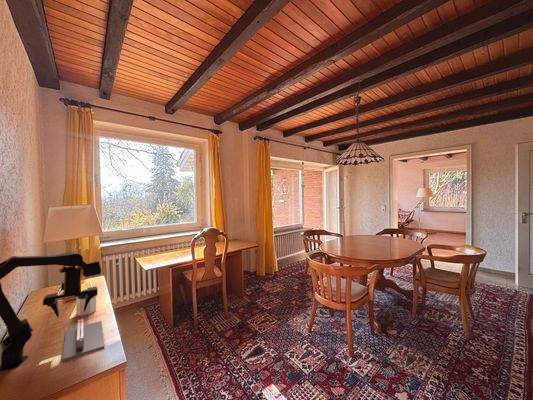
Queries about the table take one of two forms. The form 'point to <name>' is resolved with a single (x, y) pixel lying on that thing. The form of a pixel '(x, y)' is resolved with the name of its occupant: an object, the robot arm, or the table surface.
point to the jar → (81, 302)
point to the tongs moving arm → (81, 328)
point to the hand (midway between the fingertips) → (71, 313)
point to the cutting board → (91, 340)
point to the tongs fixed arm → (79, 340)
